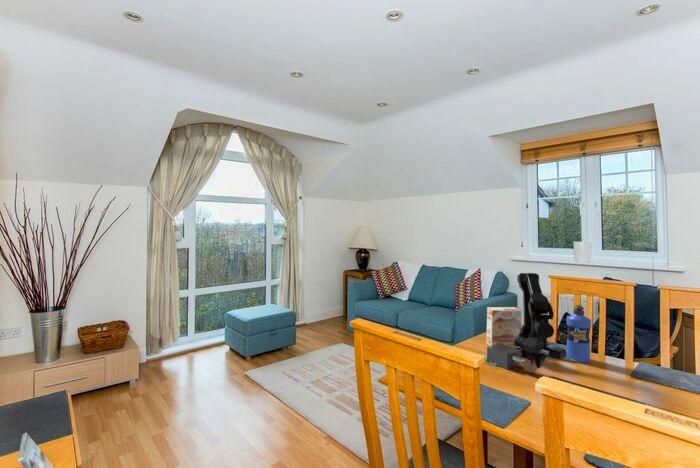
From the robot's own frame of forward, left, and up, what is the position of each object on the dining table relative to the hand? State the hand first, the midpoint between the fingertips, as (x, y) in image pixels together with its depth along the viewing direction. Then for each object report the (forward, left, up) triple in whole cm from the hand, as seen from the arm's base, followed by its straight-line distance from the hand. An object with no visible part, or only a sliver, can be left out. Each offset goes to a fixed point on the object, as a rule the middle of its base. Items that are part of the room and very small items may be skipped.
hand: (538, 368), depth 142 cm
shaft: (0, -11, -2) cm, 11 cm away
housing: (0, -16, -3) cm, 16 cm away
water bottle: (-33, 0, -4) cm, 33 cm away
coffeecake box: (-20, -29, -4) cm, 35 cm away
